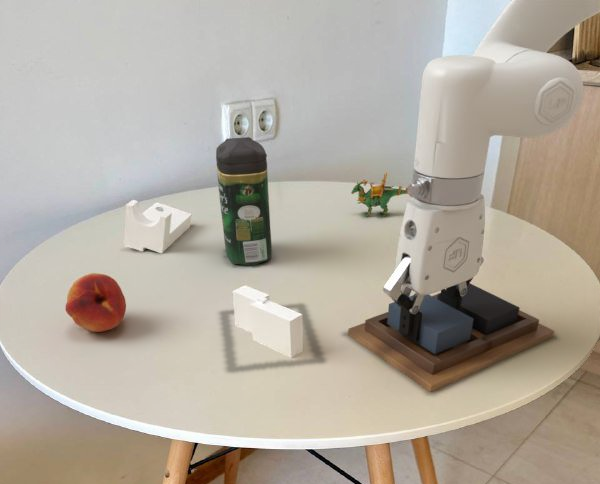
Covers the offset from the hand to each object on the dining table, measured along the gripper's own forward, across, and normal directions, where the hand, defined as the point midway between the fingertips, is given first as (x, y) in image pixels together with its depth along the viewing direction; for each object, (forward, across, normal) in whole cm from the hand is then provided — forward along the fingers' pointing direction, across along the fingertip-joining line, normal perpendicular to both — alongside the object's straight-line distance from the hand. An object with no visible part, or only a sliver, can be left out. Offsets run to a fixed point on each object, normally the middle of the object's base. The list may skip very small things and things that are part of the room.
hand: (428, 327), depth 76 cm
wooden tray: (+3, +4, 0) cm, 5 cm away
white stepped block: (+3, -16, +14) cm, 21 cm away
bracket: (+3, -14, +55) cm, 57 cm away
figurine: (+3, +26, +41) cm, 49 cm away
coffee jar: (+3, -5, +39) cm, 39 cm away
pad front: (+1, 0, 0) cm, 1 cm away
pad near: (+2, +9, 0) cm, 9 cm away
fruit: (+3, -34, +29) cm, 45 cm away
